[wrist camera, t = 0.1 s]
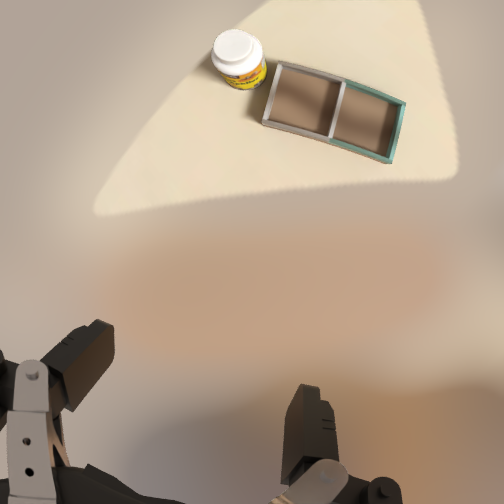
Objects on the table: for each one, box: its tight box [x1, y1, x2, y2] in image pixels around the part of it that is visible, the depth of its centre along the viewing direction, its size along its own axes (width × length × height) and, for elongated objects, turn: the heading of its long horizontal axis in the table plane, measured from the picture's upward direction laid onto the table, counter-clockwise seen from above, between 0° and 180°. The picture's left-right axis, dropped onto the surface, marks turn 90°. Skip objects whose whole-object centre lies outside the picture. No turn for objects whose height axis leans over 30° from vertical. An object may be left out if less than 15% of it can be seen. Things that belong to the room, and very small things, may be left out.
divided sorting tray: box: [262, 61, 406, 164], centre depth 32 cm, size 8×16×3 cm, turn 76°
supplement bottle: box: [211, 29, 267, 90], centre depth 28 cm, size 6×6×10 cm
